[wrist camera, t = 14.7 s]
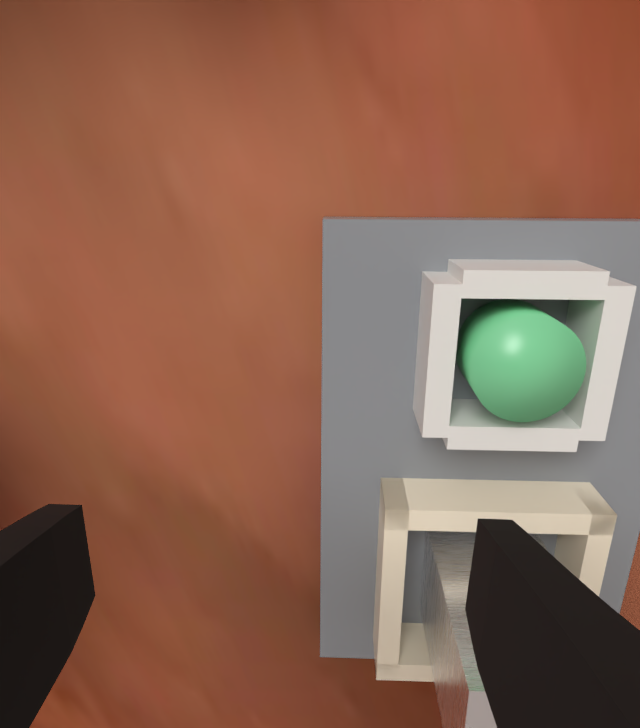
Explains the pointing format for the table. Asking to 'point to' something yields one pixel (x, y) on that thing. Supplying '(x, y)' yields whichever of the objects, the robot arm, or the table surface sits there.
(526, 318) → the button
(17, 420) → the table surface
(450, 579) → the block
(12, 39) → the table surface
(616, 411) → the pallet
